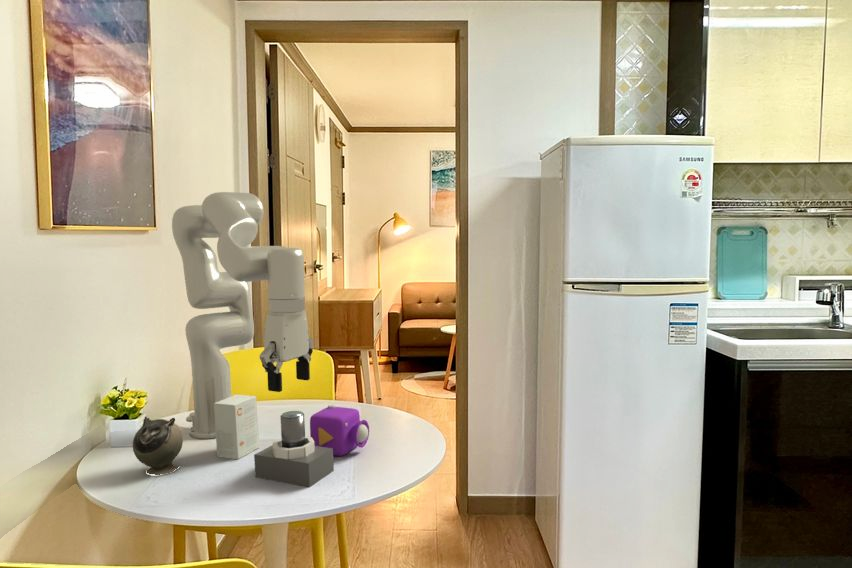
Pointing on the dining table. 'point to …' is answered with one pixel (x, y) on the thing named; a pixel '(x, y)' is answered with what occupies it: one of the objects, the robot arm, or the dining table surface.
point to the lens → (292, 429)
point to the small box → (236, 426)
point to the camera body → (294, 463)
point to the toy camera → (339, 429)
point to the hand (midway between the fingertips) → (289, 385)
